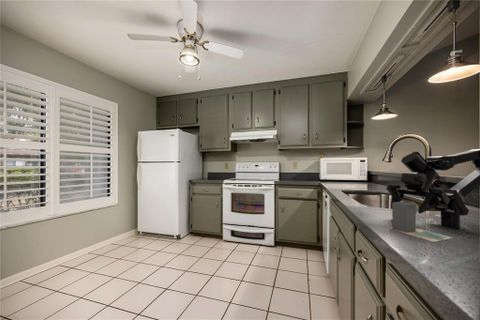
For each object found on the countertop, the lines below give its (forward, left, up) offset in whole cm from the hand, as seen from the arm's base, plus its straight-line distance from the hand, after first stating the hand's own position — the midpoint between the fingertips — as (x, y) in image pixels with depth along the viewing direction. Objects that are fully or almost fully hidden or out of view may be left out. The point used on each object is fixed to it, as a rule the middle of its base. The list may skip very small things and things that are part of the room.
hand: (404, 209), depth 77 cm
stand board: (-1, +4, -8) cm, 9 cm away
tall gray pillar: (+1, 0, -7) cm, 7 cm away
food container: (-10, -5, -9) cm, 14 cm away
